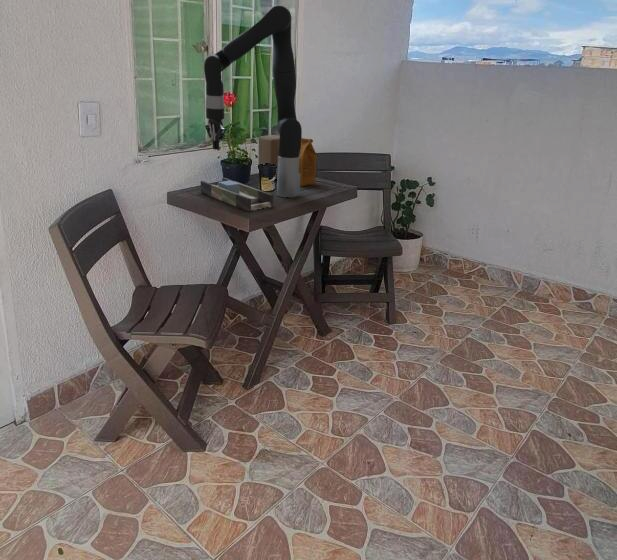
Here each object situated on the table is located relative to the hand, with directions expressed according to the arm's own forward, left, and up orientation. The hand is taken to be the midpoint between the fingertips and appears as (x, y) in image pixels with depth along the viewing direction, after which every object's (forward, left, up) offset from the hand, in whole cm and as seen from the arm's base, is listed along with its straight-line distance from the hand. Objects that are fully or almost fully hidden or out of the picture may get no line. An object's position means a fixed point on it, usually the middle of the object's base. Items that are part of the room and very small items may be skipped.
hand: (215, 149), depth 237 cm
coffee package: (-43, +8, -19) cm, 48 cm away
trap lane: (0, +15, -19) cm, 24 cm away
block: (-38, -9, -19) cm, 43 cm away
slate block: (0, +10, -17) cm, 19 cm away
